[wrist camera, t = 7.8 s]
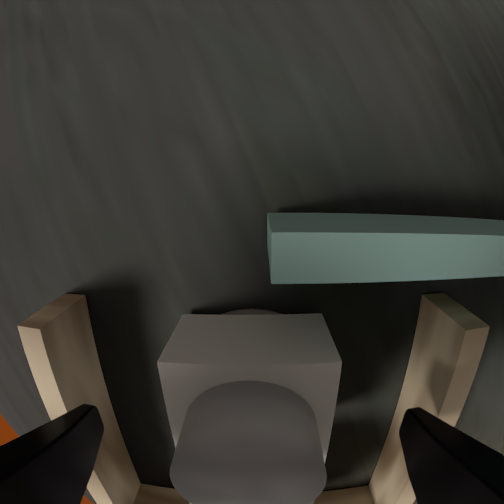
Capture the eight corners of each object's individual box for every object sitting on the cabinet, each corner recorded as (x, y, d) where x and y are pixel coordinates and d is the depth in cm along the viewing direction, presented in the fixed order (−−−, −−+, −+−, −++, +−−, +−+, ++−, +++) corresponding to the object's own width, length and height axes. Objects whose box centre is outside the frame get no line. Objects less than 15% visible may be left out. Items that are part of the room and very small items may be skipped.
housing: (380, 491, 13) (393, 531, 10) (128, 489, 13) (114, 527, 10) (444, 293, 10) (490, 326, 7) (64, 293, 11) (17, 325, 8)
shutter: (564, 247, 9) (615, 265, 6) (267, 246, 10) (271, 284, 6) (567, 218, 9) (619, 232, 6) (267, 200, 9) (271, 213, 6)
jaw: (321, 313, 10) (362, 414, 5) (312, 416, 11) (330, 521, 6) (182, 314, 10) (130, 412, 5) (196, 416, 11) (170, 518, 6)
